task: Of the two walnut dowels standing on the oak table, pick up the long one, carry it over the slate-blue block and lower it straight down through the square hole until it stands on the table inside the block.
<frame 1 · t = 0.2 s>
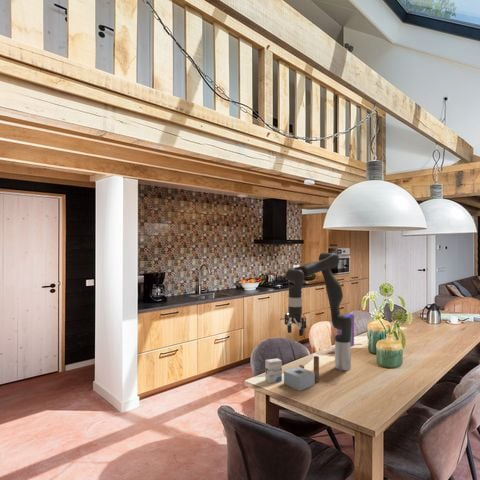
hand: (295, 334, 195), 28 cm above the table, fingers open, 8 cm apart
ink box: (273, 380, 202), on the table
cereal box: (345, 347, 267), on the table
hole block: (299, 384, 196), on the table
short pin: (301, 375, 209), on the table
long pin: (316, 381, 201), on the table
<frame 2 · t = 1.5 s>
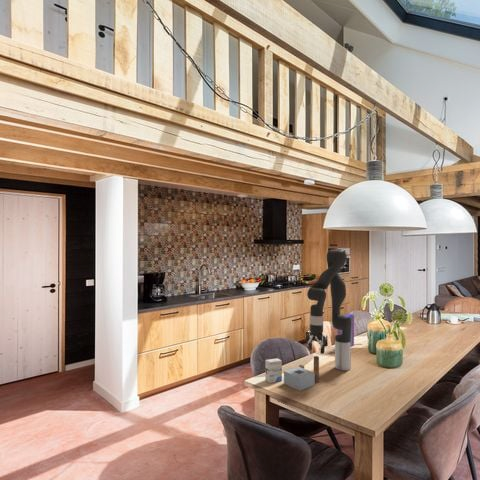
hand: (316, 351, 201), 17 cm above the table, fingers open, 8 cm apart
nothing on the table moved.
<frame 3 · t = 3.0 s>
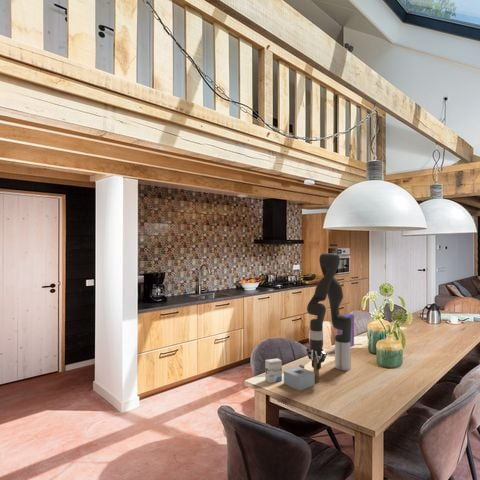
hand: (316, 368, 201), 8 cm above the table, fingers closed on long pin, 3 cm apart
long pin: (316, 381, 201), on the table, touching gripper
everything else where it was.
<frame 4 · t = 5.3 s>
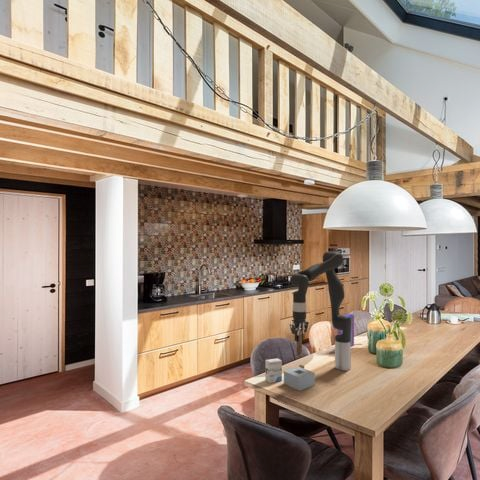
hand: (299, 340, 196), 24 cm above the table, fingers closed on long pin, 3 cm apart
long pin: (299, 354, 196), point 17 cm above the table, touching gripper
everything else where it was.
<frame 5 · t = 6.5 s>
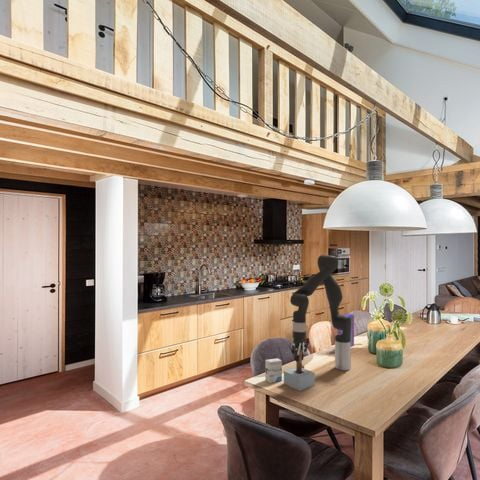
hand: (299, 360, 196), 13 cm above the table, fingers closed on long pin, 3 cm apart
long pin: (299, 374, 196), point 6 cm above the table, touching gripper
everything else where it was.
when the fingers open (10 cm above the table, at t = 7.6 s): long pin drops 2 cm, resting in hole block.
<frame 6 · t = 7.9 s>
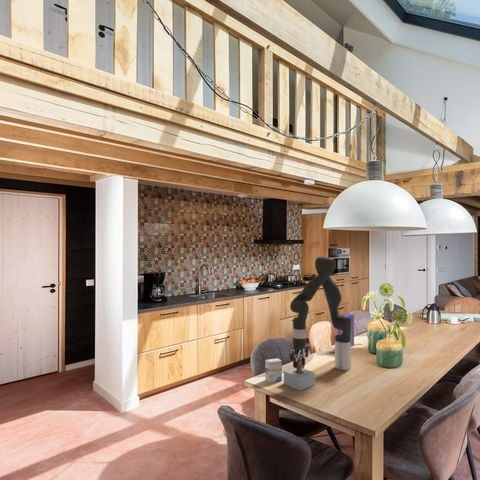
hand: (299, 366, 196), 10 cm above the table, fingers open, 5 cm apart
long pin: (299, 384, 196), resting in hole block
everything else where it was.
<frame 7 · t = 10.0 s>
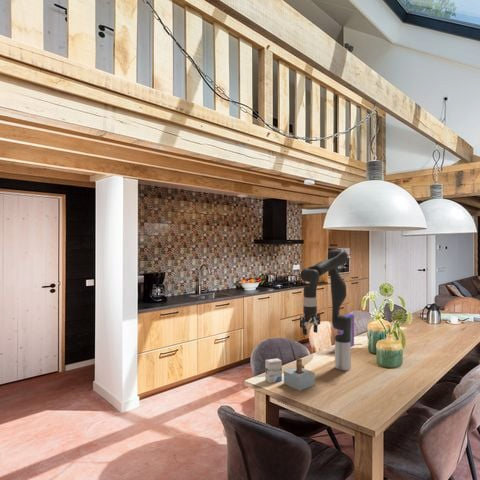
hand: (310, 333, 197), 28 cm above the table, fingers open, 8 cm apart
nothing on the table moved.
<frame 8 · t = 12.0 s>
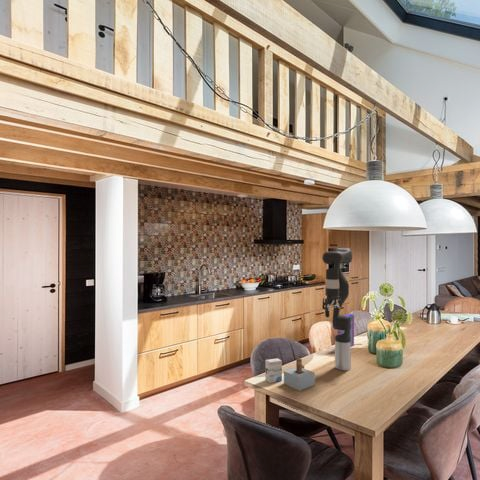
hand: (332, 316, 197), 38 cm above the table, fingers open, 8 cm apart
nothing on the table moved.
at the end: long pin 0.0 cm off-centre on the hole block, point 0.0 cm above the hole block's base; long pin tilted 0°; the gripper is holding nothing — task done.
